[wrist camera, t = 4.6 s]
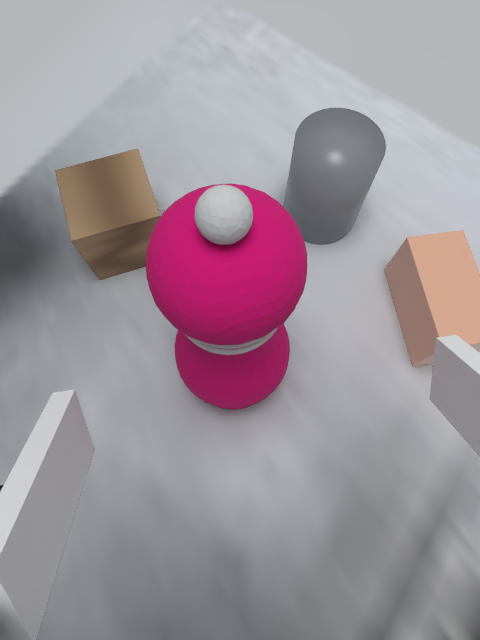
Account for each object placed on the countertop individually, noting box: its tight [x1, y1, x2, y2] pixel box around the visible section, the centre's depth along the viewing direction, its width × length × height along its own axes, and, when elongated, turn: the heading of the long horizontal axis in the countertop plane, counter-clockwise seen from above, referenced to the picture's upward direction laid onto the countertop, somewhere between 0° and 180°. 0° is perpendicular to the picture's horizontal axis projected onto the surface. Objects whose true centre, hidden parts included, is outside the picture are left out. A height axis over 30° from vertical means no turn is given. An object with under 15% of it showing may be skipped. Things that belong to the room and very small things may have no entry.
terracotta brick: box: [384, 230, 480, 367], centre depth 30 cm, size 4×8×5 cm, turn 8°
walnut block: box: [55, 149, 160, 280], centre depth 32 cm, size 6×6×6 cm
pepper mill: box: [146, 184, 307, 409], centre depth 21 cm, size 7×7×20 cm
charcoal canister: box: [284, 108, 386, 244], centre depth 31 cm, size 6×6×8 cm
